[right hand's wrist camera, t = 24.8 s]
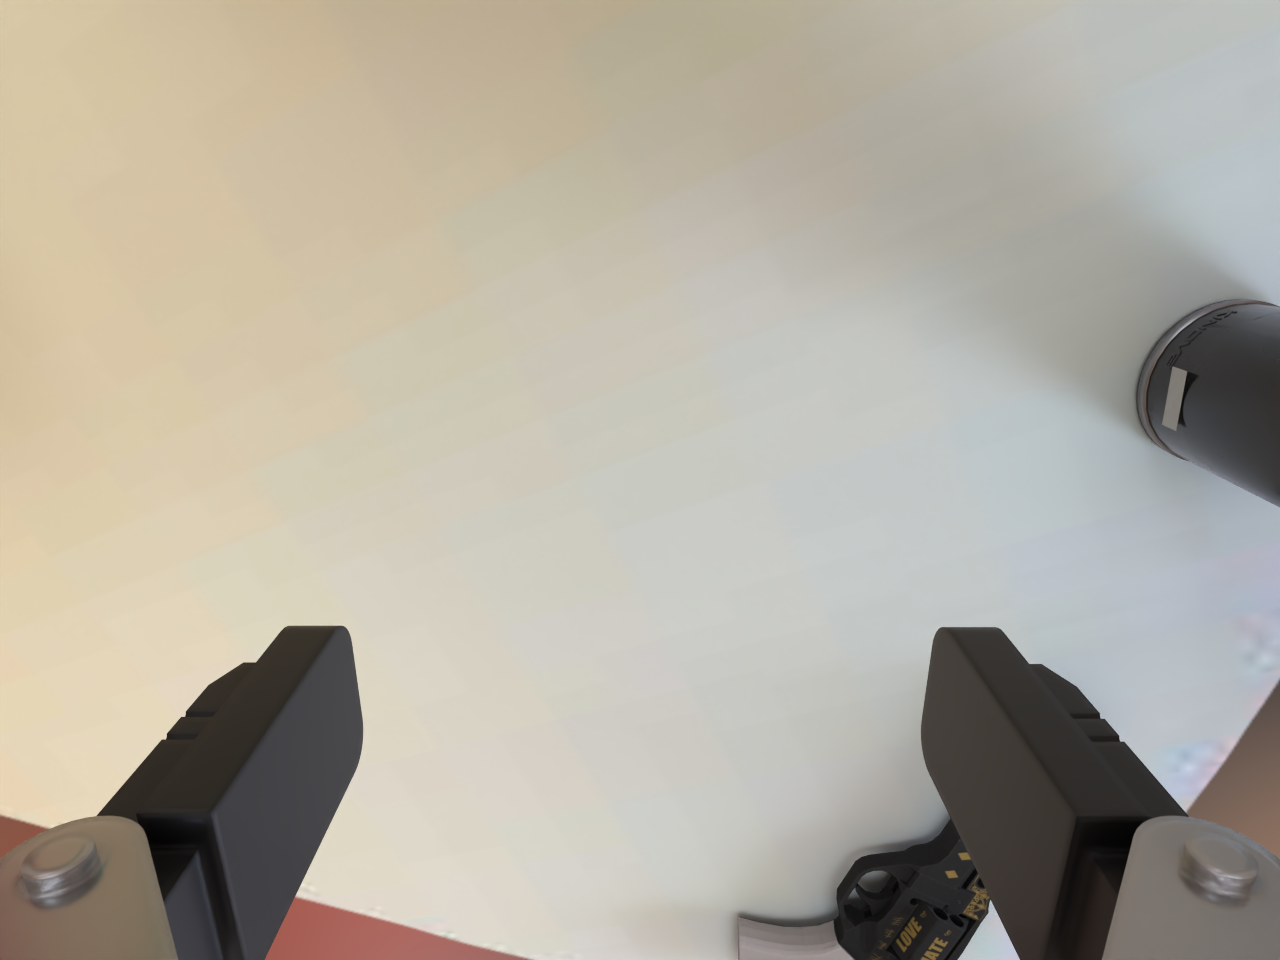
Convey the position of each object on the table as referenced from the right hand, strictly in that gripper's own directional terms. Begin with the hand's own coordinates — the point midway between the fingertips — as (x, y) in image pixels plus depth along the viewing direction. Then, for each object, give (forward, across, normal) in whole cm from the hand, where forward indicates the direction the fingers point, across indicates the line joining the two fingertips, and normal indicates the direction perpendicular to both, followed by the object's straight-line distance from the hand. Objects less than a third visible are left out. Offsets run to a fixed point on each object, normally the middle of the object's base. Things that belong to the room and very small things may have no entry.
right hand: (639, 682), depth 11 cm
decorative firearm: (+36, -18, +38) cm, 56 cm away
